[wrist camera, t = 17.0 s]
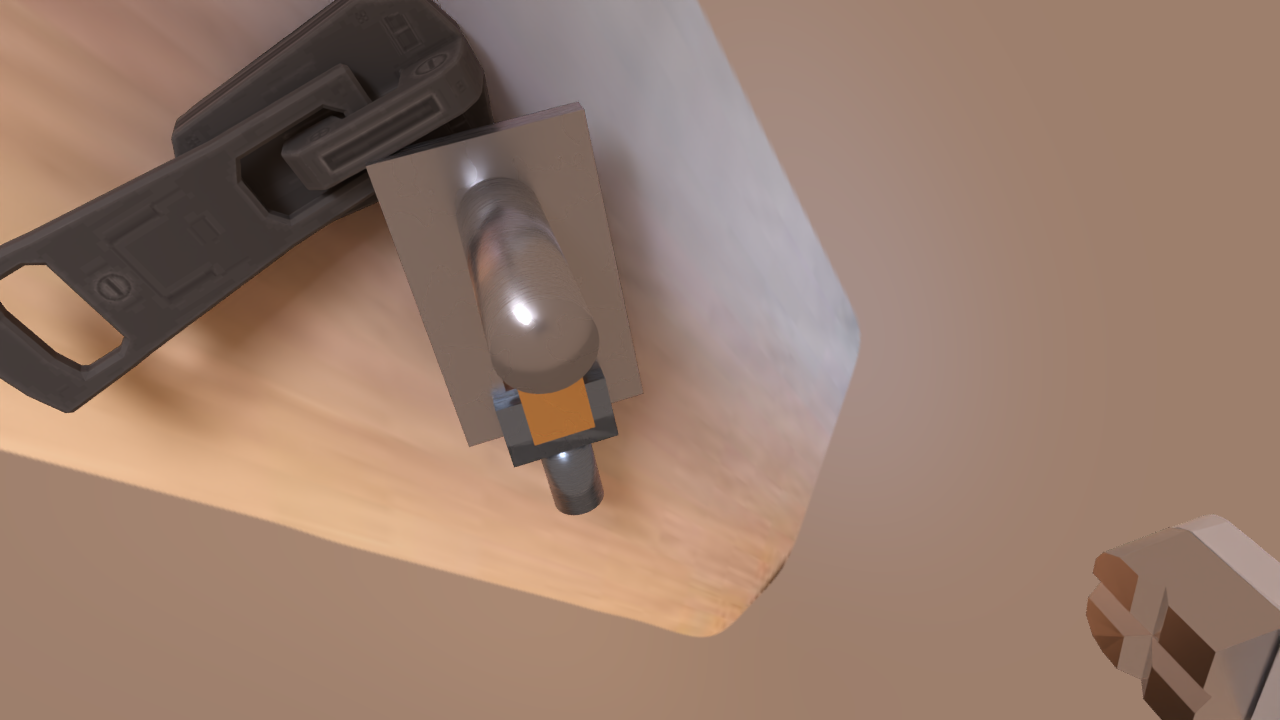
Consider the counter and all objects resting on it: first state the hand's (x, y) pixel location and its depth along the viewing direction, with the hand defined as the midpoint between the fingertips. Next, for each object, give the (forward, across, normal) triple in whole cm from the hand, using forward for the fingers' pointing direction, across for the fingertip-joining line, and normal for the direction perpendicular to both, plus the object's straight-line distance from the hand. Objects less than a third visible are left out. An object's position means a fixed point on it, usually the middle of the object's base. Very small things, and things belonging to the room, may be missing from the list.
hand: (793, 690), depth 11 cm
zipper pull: (+39, +12, +4) cm, 41 cm away
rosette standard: (+39, +1, +15) cm, 42 cm away
